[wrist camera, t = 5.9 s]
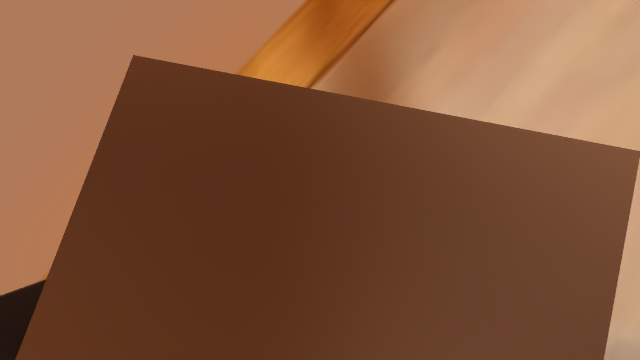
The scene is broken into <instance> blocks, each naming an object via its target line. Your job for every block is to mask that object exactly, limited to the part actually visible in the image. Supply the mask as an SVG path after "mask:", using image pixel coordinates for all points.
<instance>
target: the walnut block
mask: <svg viewBox="0 0 640 360" xmlns="http://www.w3.org/2000/svg"><path fill="white" fill-rule="evenodd" d="M639 158H640V151H636V150H630V149H625V148H620V147H614V146H609V145H604V144H599V143H593V142H588V141H583V140H578V139H572V138H567V137H562V136H557V135H551V134H546V133H541V132H535V131H530V130H525V129H520V128H514V127H509V126H504V125H499V124H493V123H488V122H483V121H477V120H472V119H467V118H462V117H456V116H451V115H446V114H441V113H435V112H430V111H425V110H420V109H414V108H409V107H404V106H398V105H393V104H388V103H383V102H377V101H372V100H367V99H362V98H356V97H351V96H346V95H340V94H335V93H330V92H325V91H319V90H314V89H309V88H304V87H298V86H293V85H288V84H282V83H277V82H272V81H267V80H261V79H256V78H251V77H246V76H240V75H235V74H230V73H225V72H219V71H214V70H209V69H203V68H198V67H192V66H188V65H182V64H177V63H171V62H167V61H161V60H155V59H151V58H145V57H140V56H135V55H133V58H132V60H131V63H130V65H129V68H128V71H127V73H126V76H125V78H124V81H123V83H122V86H121V89H120V91H119V94H118V96H117V99H116V101H115V104H114V107H113V109H112V112H111V114H110V117H109V120H108V122H107V125H106V127H105V130H104V132H103V135H102V138H101V140H100V143H99V145H98V148H97V150H96V153H95V156H94V158H93V161H92V163H91V166H90V169H89V171H88V174H87V176H86V179H85V181H84V184H83V187H82V189H81V192H80V194H79V197H78V200H77V202H76V205H75V207H74V210H73V212H72V215H71V218H70V220H69V223H68V225H67V228H66V231H65V233H64V236H63V238H62V241H61V243H60V246H59V249H58V251H57V254H56V256H55V259H54V261H53V264H52V267H51V269H50V272H49V274H48V277H47V279H46V282H45V285H44V287H43V290H42V292H41V295H40V298H39V300H38V303H37V305H36V308H35V310H34V313H33V316H32V318H31V321H30V323H29V326H28V328H27V331H26V334H25V336H24V339H23V341H22V344H21V347H20V349H19V352H18V354H17V357H16V359H15V360H604V354H605V349H606V343H607V337H608V332H609V326H610V321H611V315H612V309H613V304H614V298H615V293H616V287H617V281H618V276H619V270H620V265H621V259H622V253H623V248H624V242H625V237H626V231H627V225H628V220H629V214H630V208H631V203H632V197H633V192H634V186H635V180H636V175H637V169H638V164H639Z"/></svg>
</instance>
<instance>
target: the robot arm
mask: <svg viewBox="0 0 640 360" xmlns="http://www.w3.org/2000/svg"><path fill="white" fill-rule="evenodd" d="M45 282H46V279H45V280H43V281H40V282H37V283H34V284H32V285H29V286H26V287H24V288H20V289H18V290H15V291H12V292H9V293H6V294H4V295H1V296H0V360H15V359H16V357H17V354H18V352H19V349H20V347H21V344H22V341H23V339H24V336H25V334H26V331H27V328H28V326H29V323H30V321H31V318H32V316H33V313H34V310H35V308H36V305H37V303H38V300H39V298H40V295H41V292H42V290H43V287H44V285H45Z"/></svg>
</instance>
